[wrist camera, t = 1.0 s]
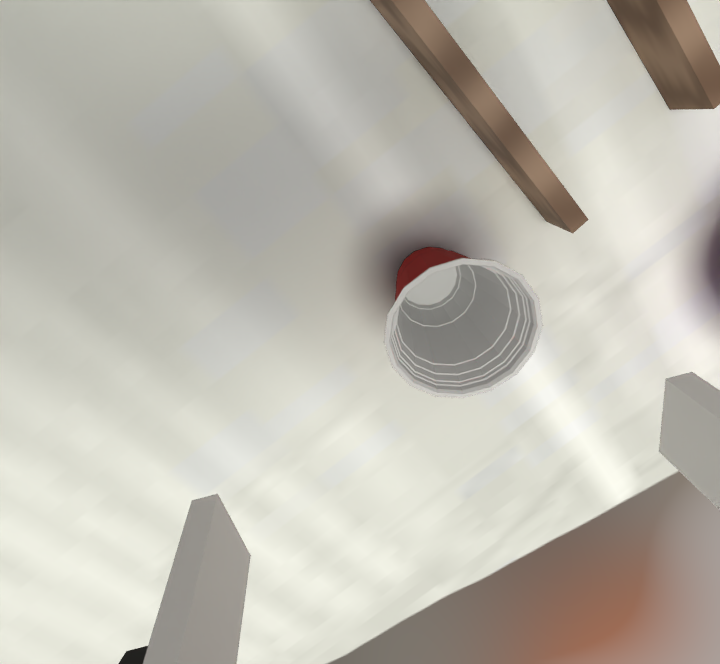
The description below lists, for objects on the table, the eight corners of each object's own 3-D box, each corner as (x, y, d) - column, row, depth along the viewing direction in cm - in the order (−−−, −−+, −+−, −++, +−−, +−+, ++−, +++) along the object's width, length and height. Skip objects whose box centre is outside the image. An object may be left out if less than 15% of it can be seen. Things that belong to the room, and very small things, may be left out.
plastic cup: (344, 258, 39) (356, 311, 29) (455, 195, 38) (511, 226, 27) (399, 350, 44) (427, 426, 33) (500, 297, 42) (563, 359, 32)
